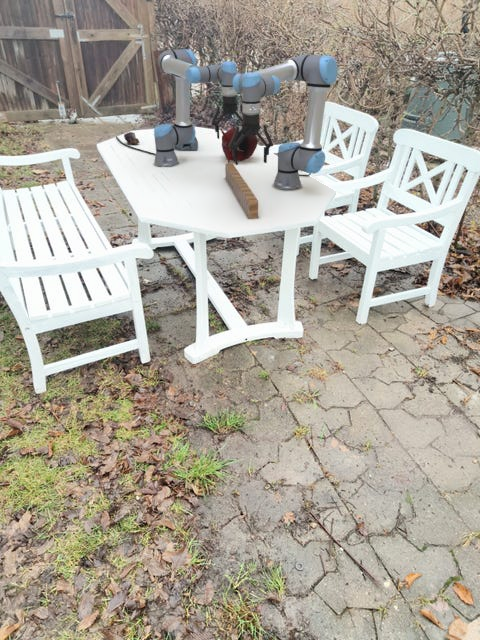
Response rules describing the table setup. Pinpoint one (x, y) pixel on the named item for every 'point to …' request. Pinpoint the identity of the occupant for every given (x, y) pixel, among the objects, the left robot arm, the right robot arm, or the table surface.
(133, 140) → the rock
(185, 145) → the grey slotted block
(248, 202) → the post
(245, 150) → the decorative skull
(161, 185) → the table surface
